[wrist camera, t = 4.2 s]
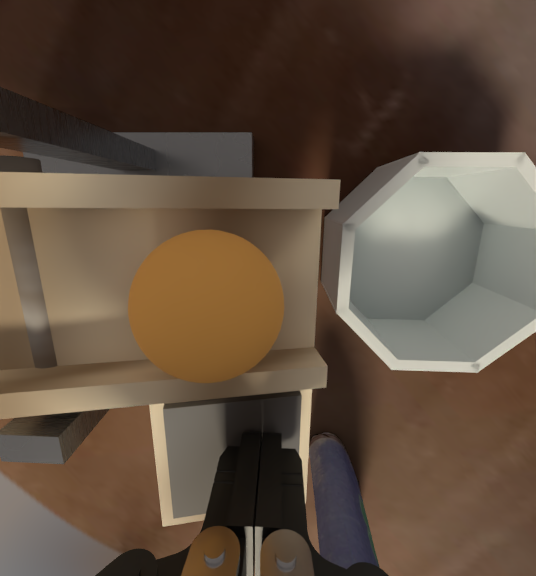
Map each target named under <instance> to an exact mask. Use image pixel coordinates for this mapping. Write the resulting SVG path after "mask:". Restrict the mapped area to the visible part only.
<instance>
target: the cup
mask: <svg viewBox="0 0 536 576" xmlns="http://www.w3.org/2000/svg"><path fill="white" fill-rule="evenodd" d="M324 218H325V220H324V238H323V255H322V273H321V283H322V285H323V287H324V289H325V291H326V293H327V295H328V297H329V299H330V301H331V304H332V306H333V308H334V310H335V312H336V314H338V315H339V316H340V317H341V318H342V319H343V320H344V321H345V322H346V323H347V324H348V325H349V326H350V327H351V328H352V329H353V330H354V331H355V332H356V334H357V335H358V336H359V337H360V338H361V339H362V340H363V341H364V342H365V343H366V344H367V345H368V346H369V347H370V348H371V349H372V350H373V351H374V352H375V353H376V354H377V355H378V356H379V357H380V358H381V359H382V360H383V361H384V362H385V363H386V364H387V365H388V366H389V368H390V369H391V370H414V371H446V372H476V373H478V372H479V371H480V370H482V369H483V368H485V367H486V366H487V365H489V364H490V363H492V362H493V361H494V360H496V359H497V358H499V357H500V356H502V355H503V354H504V353H506V352H507V351H509V350H510V349H512V348H513V347H514V346H516V345H517V344H519V343H520V342H521V341H523V340H524V339H526V338H527V337H529V336H530V335H531V334H533V333H534V332H536V167H535V165H534V164H533V163H532V161H531V160H530V159H529V157H528V156H527V155H526V152H418V153H415V154H413V155H410V156H407V157H404V158H402V159H399V160H396V161H393V162H391V163H388V164H385V165H382V166H380V167H377V168H376V169H375V170H374V171H373V172H372V173H371V174H370V175H369V176H368V177H367V178H365V179H364V180H363V181H362V182H361V183H360V184H359V185H358V186H357V187H356V188H355V189H354V190H353V191H352V192H351V193H350V194H349V195H348V196H347V197H345V198H344V199H343V200H342V201H341V202H340V203H339V209H333V210H332V211H331V212H330V213H329V214H328V215H327V216H326V217H324Z"/></svg>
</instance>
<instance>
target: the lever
mask: <svg viewBox="0 0 536 576" xmlns="http://www.w3.org/2000/svg"><path fill="white" fill-rule="evenodd" d="M340 181H341V180H336V179H292V178H248V177H204V176H160V175H116V174H72V173H43V172H42V167H41V161H40V160H39V159H35V158H27V157H17V156H0V419H8V418H18V417H29V416H39V415H49V414H59V413H70V412H80V411H90V410H101V409H111V408H121V407H131V406H142V405H149V406H150V416H151V425H152V434H153V443H154V452H155V461H156V470H157V479H158V489H159V498H160V507H161V516H162V525H163V527H164V526H170V525H177V524H183V523H189V522H195V521H201V520H204V519H205V515H206V511H207V507H208V503H209V499H210V495H211V490H212V486H213V483H214V478H215V474H216V471H217V466H218V462H219V458H220V456H221V454H222V453H223V452H224V451H225V449H226V448H227V447H228V446H239V447H240V444H241V438H242V433H243V432H262V436H263V432H269V433H282V448H291V449H296V451H297V452H298V454H299V456H300V458H301V460H302V469H303V482H304V494H305V504H306V491H307V473H308V454H309V436H310V417H311V399H312V389H316V388H326V385H327V370H328V366H327V364H326V363H325V362H324V360H323V359H322V357H321V356H320V354H319V353H318V352H317V350H316V349H315V347H314V344H315V326H316V307H317V289H318V271H319V252H320V234H321V215H322V209H339V195H340ZM195 230H220V231H224V232H228V233H232V234H235V235H237V236H239V237H242V238H244V239H245V240H247V241H249V242H250V243H252V244H253V245H254V246H256V247H257V248H258V249H259V250H260V251H261V252H262V253H263V254H264V255H265V256H266V257H267V258H268V259H269V261H270V262H271V263H272V265H273V267H274V268H275V270H276V272H277V274H278V277H279V279H280V282H281V285H282V289H283V295H284V317H283V321H282V325H281V329H280V332H279V334H278V337H277V339H276V341H275V342H274V344H273V346H272V348H271V349H270V351H269V352H268V353H267V354H266V356H265V357H264V358H263V359H262V360H261V361H260V362H259V363H258V364H257V365H255V366H254V367H253V368H251V369H250V370H248V371H247V372H245V373H243V374H242V375H239V376H237V377H235V378H232V379H229V380H226V381H222V382H215V383H195V382H189V381H185V380H181V379H178V378H176V377H174V376H171V375H169V374H167V373H166V372H164V371H162V370H161V369H159V368H158V367H157V366H156V365H154V364H153V363H152V362H151V361H150V360H149V359H148V358H147V357H146V355H145V354H144V353H143V352H142V350H141V349H140V347H139V346H138V344H137V342H136V340H135V338H134V335H133V333H132V330H131V326H130V323H129V317H128V298H129V292H130V288H131V284H132V281H133V279H134V276H135V274H136V272H137V270H138V269H139V267H140V265H141V264H142V263H143V261H144V260H145V258H146V257H147V256H148V255H149V254H150V253H151V252H152V251H153V250H154V249H155V248H157V247H158V246H159V245H160V244H162V243H163V242H165V241H167V240H169V239H170V238H172V237H174V236H177V235H179V234H182V233H186V232H189V231H195Z"/></svg>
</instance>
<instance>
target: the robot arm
mask: <svg viewBox="0 0 536 576" xmlns="http://www.w3.org/2000/svg"><path fill="white" fill-rule="evenodd" d="M254 568H255V576H388V575H387V574H386V573H385V572H384V571H383V570H382V569H380V568H379V567H377V566H375V565H373V564H371V563H367V562H358V563H355V564H353V565H351V566H350V567H349V568H348V569H345V568H343V567H341V566H338V565H336V564H334V563H331V562H329V561H328V560H326V559H324V558H323V557H322V556H321V555H320V554H319V553H318V552H317V551H316V550H315V549H314V547H313V546H312V544H311V542H310V540H309V536H308V532H307V520H306V507H305V494H304V482H303V469H302V460H301V458H300V456H299V454H298V452H297V451H296V449H291V448H282V433H269V432H263V436H262V432H243V433H242V438H241V444H240V447H239V446H228V447H227V448H226V449H225V451H224V452H223V453H222V454H221V456H220V458H219V462H218V466H217V471H216V474H215V478H214V483H213V486H212V490H211V495H210V499H209V503H208V507H207V511H206V515H205V519H204V523H203V527H202V530H201V532H200V534H199V535H198V536H197V537H196V538H195V539H194V541H193V543H192V544H191V545H190V546H189V547H187V548H186V549H185V550H183V551H181V552H179V553H176V554H173V555H170V556H167V557H164V558H161V559H157V560H156V559H155V557H154V555H153V554H152V553H151V552H149V551H148V550H145V549H133V550H130V551H127V552H125V553H123V554H121V555H120V556H119V557H117V558H116V559H115V560H114V561H112V562H111V563H110V564H109V565H107V566H106V567H105V568H104V569H103V570H102V571H100V572H99V573H98V574H97V575H96V576H254Z"/></svg>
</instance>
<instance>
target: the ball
mask: <svg viewBox="0 0 536 576" xmlns="http://www.w3.org/2000/svg"><path fill="white" fill-rule="evenodd" d="M128 317H129V323H130V326H131V330H132V333H133V335H134V338H135V340H136V342H137V344H138V346H139V347H140V349H141V350H142V352H143V353H144V354H145V355H146V357H147V358H148V359H149V360H150V361H151V362H152V363H153V364H154V365H156V366H157V367H158V368H159V369H161V370H162V371H164V372H166V373H167V374H169V375H171V376H174V377H176V378H178V379H181V380H185V381H189V382H195V383H215V382H222V381H226V380H229V379H232V378H235V377H237V376H239V375H242V374H243V373H245V372H247V371H248V370H250V369H251V368H253V367H254V366H255V365H257V364H258V363H259V362H260V361H261V360H262V359H263V358H264V357H265V356H266V354H267V353H268V352H269V351H270V349H271V348H272V346H273V344H274V342H275V341H276V339H277V337H278V334H279V332H280V329H281V325H282V321H283V317H284V295H283V289H282V285H281V282H280V279H279V277H278V274H277V272H276V270H275V268H274V267H273V265H272V263H271V262H270V261H269V259H268V258H267V257H266V256H265V255H264V254H263V253H262V252H261V251H260V250H259V249H258V248H257V247H256V246H254V245H253V244H252V243H250V242H249V241H247V240H245V239H244V238H242V237H239V236H237V235H235V234H232V233H228V232H224V231H220V230H195V231H189V232H186V233H182V234H179V235H177V236H174V237H172V238H170V239H169V240H167V241H165V242H163V243H162V244H160V245H159V246H158V247H157V248H155V249H154V250H153V251H152V252H151V253H150V254H149V255H148V256H147V257H146V258H145V260H144V261H143V263H142V264H141V265H140V267H139V269H138V270H137V272H136V274H135V276H134V279H133V281H132V284H131V288H130V292H129V298H128Z"/></svg>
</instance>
